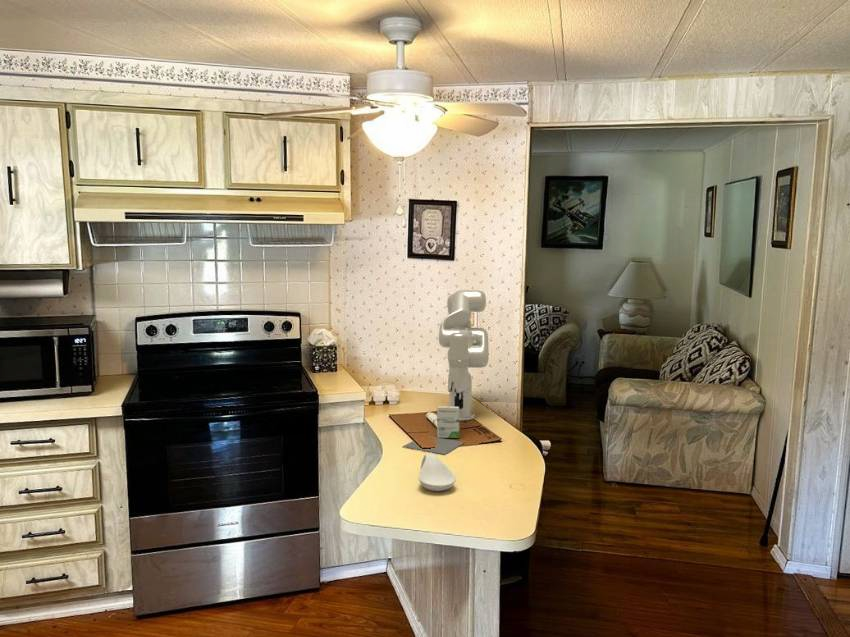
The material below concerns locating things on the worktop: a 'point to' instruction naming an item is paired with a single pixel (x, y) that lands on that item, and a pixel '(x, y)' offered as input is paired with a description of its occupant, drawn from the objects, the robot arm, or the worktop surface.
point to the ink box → (447, 422)
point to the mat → (438, 446)
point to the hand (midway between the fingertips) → (458, 408)
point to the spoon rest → (435, 474)
